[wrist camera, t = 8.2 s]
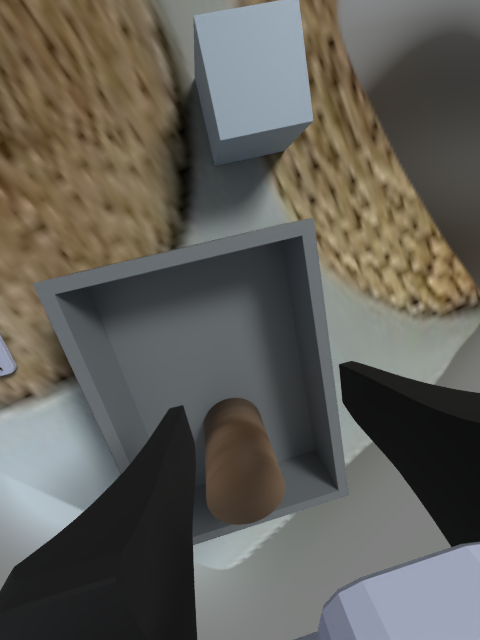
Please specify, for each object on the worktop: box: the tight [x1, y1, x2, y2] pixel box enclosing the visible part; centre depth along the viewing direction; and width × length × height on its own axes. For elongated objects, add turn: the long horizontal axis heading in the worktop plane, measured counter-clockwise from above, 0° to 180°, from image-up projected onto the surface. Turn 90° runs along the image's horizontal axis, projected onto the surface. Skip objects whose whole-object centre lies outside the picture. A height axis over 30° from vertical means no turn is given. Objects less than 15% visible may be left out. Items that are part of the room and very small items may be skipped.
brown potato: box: [204, 398, 285, 525], centre depth 20 cm, size 5×5×7 cm
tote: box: [33, 218, 349, 545], centre depth 20 cm, size 16×22×5 cm
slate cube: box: [194, 0, 313, 166], centre depth 16 cm, size 5×5×5 cm
